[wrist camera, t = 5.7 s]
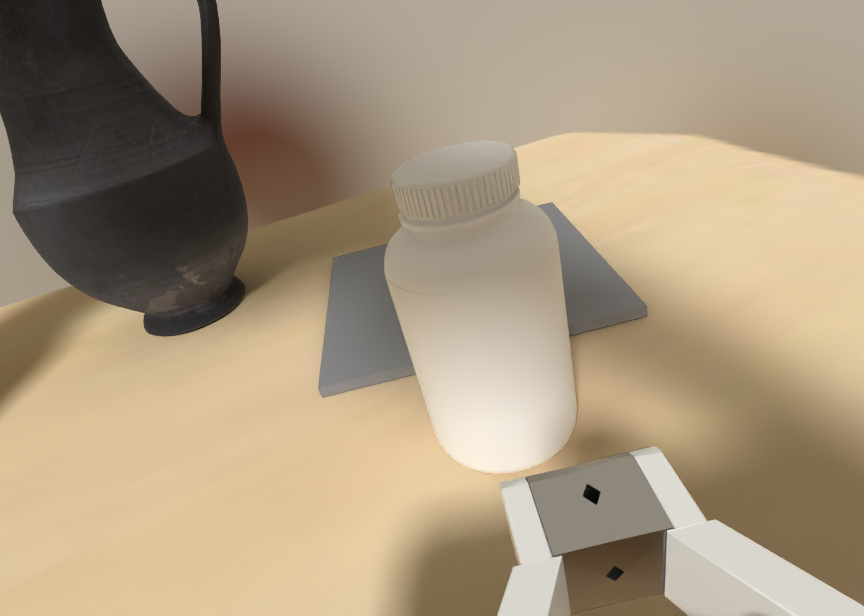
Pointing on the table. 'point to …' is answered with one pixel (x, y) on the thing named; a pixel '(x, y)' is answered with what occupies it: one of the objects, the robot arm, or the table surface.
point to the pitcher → (120, 167)
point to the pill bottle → (482, 307)
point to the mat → (381, 331)
